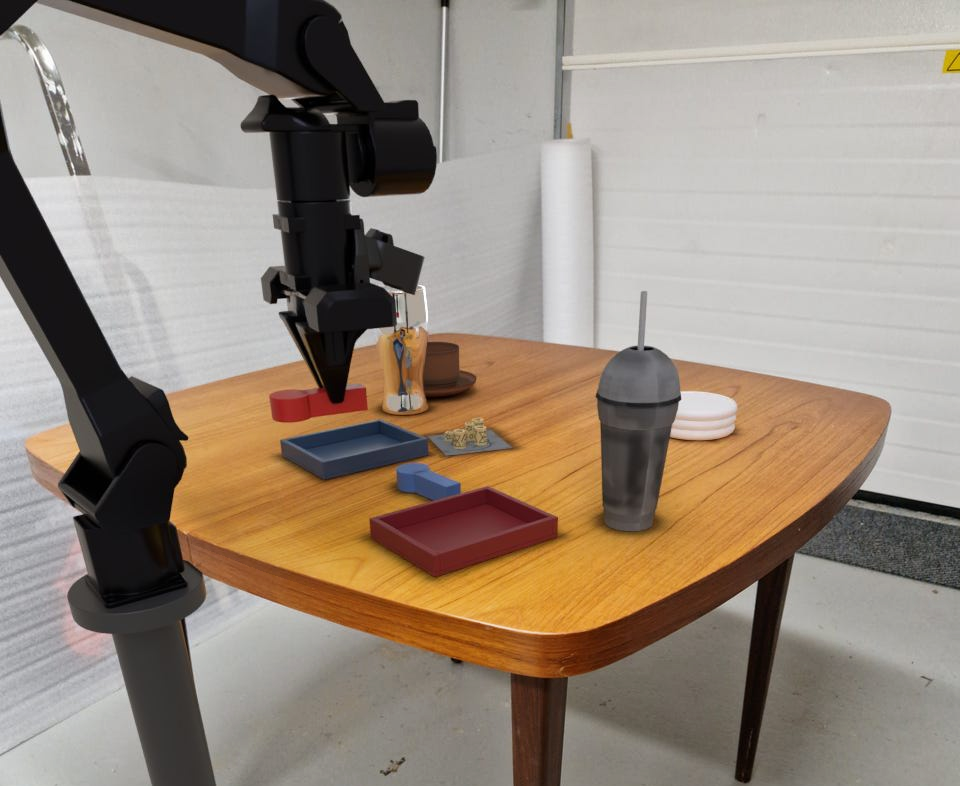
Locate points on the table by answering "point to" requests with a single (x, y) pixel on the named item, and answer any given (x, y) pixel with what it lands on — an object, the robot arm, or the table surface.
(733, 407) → the white stacked discs
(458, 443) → the dice set
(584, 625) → the table surface
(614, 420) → the beverage cup
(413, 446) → the blue tray
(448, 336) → the table surface
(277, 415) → the red spoon
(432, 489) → the blue spoon
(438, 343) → the cup and saucer
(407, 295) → the beer glass
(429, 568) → the red tray
